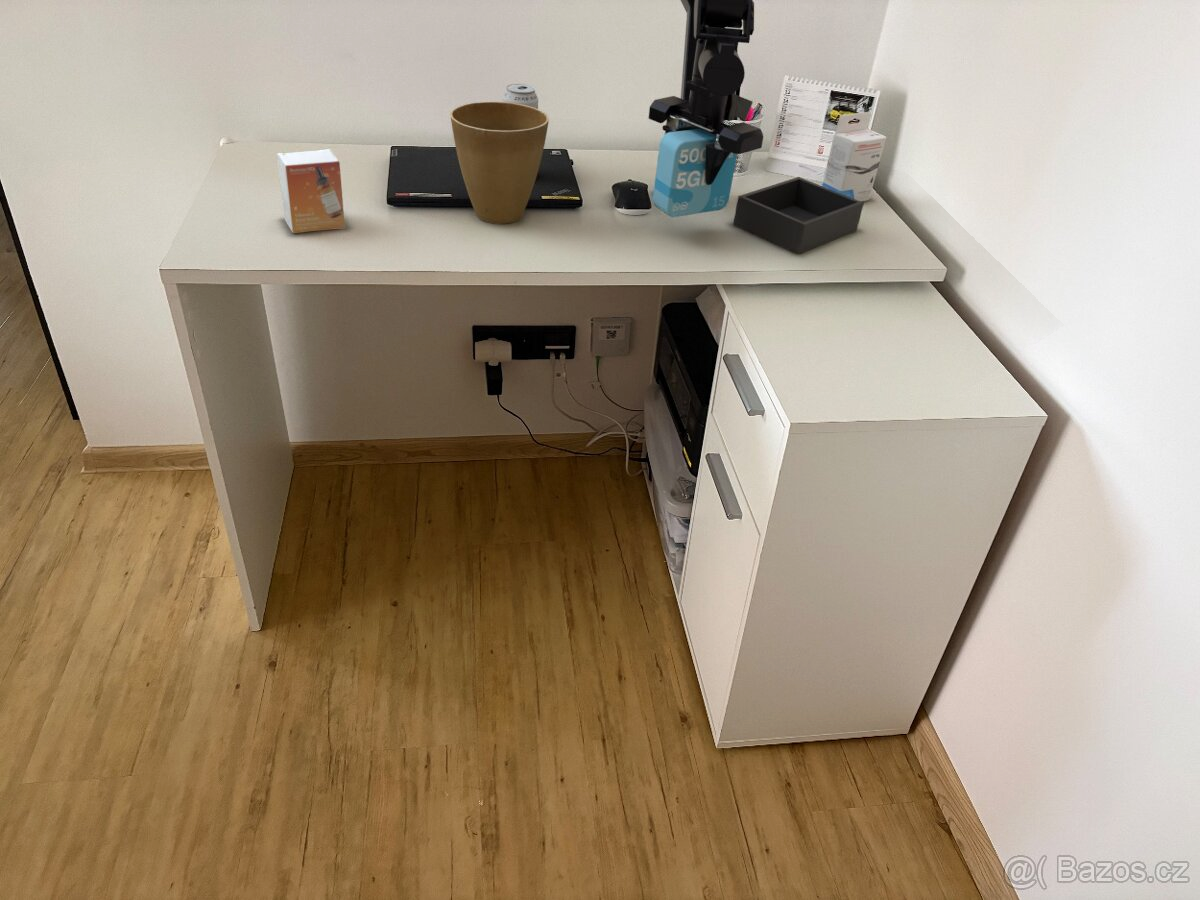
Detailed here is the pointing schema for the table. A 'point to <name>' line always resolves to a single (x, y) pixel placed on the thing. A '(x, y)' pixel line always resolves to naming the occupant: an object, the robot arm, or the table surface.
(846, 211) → the black box
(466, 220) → the table surface
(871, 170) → the ink box
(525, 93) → the energy drink can
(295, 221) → the small box
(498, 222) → the plant pot
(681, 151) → the data package
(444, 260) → the table surface
